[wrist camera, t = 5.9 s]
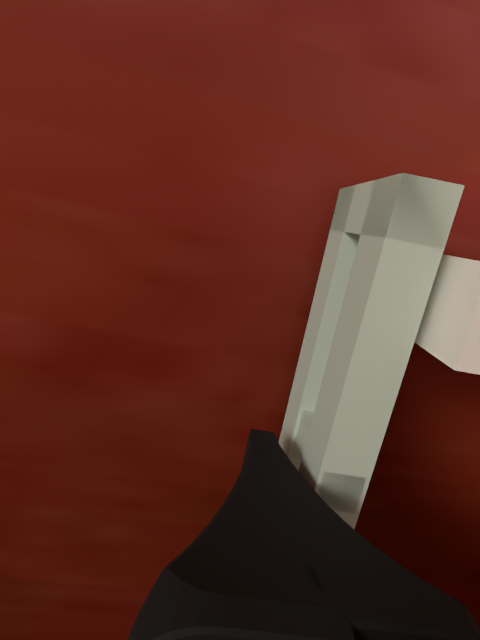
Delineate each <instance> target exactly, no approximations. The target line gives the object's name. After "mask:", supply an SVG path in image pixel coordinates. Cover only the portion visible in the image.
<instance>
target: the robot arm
mask: <svg viewBox="0 0 480 640" xmlns="http://www.w3.org/2000/svg"><path fill="white" fill-rule="evenodd" d="M128 640H480V629H479V627H478V625H477V624H476V622H475V621H474V619H473V617H472V616H471V614H470V612H469V611H468V609H467V608H466V606H465V605H464V604H462V603H461V602H459V601H457V600H455V599H454V598H452V597H450V596H449V595H447V594H445V593H444V592H442V591H440V590H439V589H437V588H435V587H434V586H432V585H430V584H429V583H427V582H425V581H424V580H422V579H420V578H419V577H417V576H416V575H414V574H413V573H411V572H410V571H408V570H407V569H405V568H404V567H402V566H401V565H400V564H398V563H397V562H395V561H394V560H392V559H391V558H390V557H388V556H387V555H386V554H384V553H383V552H381V551H380V550H379V549H377V548H376V547H375V546H374V545H372V544H371V543H370V542H369V541H367V540H366V539H365V538H364V537H363V536H361V535H360V534H359V533H358V532H356V531H355V530H354V529H353V528H352V527H351V526H350V525H348V524H347V523H346V522H345V521H344V520H343V519H342V518H341V517H340V516H339V515H338V514H337V513H336V512H335V511H334V510H333V509H332V508H331V507H329V506H328V505H327V503H326V502H325V501H324V500H323V499H322V498H321V497H320V496H319V495H318V494H317V493H316V491H315V490H314V489H313V488H312V487H311V486H310V485H309V484H308V482H307V481H306V480H305V479H304V477H303V476H302V475H301V474H300V472H299V471H298V470H297V469H296V467H295V466H294V465H293V463H292V462H291V461H290V459H289V458H288V456H287V455H286V454H285V452H284V451H283V449H282V448H281V446H280V445H279V442H278V440H277V437H276V436H275V434H274V433H273V432H267V431H260V430H254V429H251V430H250V433H249V438H248V443H247V447H246V452H245V457H244V462H243V466H242V471H241V473H240V475H239V477H238V479H237V481H236V484H235V485H234V487H233V489H232V491H231V493H230V494H229V496H228V497H227V499H226V501H225V502H224V504H223V505H222V507H221V508H220V510H219V511H218V512H217V514H216V515H215V516H214V518H213V519H212V520H211V522H210V523H209V524H208V525H207V527H206V528H205V529H204V530H203V531H202V532H201V533H200V534H199V535H198V537H197V538H196V539H195V540H194V541H193V542H192V543H191V544H190V545H189V546H188V547H187V548H186V549H185V550H184V551H183V552H182V553H181V554H180V555H178V556H177V557H176V558H175V559H174V560H173V561H172V562H170V563H169V564H168V565H167V566H166V567H165V568H164V569H163V571H162V573H161V574H160V576H159V578H158V579H157V581H156V583H155V585H154V586H153V588H152V590H151V592H150V593H149V595H148V597H147V599H146V601H145V602H144V604H143V606H142V608H141V610H140V612H139V614H138V616H137V619H136V621H135V623H134V625H133V628H132V630H131V632H130V635H129V638H128Z"/></svg>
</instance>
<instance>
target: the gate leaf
mask: <svg viewBox="0 0 480 640" xmlns="http://www.w3.org/2000/svg"><path fill="white" fill-rule="evenodd" d="M463 189H464V185H459V184H454V183H450V182H445V181H440V180H435V179H430V178H426V177H421V176H416V175H411V174H406V173H401V174H397V175H393V176H389V177H385V178H381V179H377V180H373V181H369V182H365V183H361V184H358V185H354V186H350V187H346V188H342V189H340V191H339V195H338V199H337V203H336V207H335V211H334V216H333V220H332V224H331V228H330V232H329V236H328V240H327V245H326V249H325V253H324V257H323V261H322V265H321V269H320V273H319V278H318V282H317V286H316V290H315V294H314V298H313V302H312V307H311V311H310V315H309V319H308V323H307V327H306V331H305V336H304V340H303V344H302V348H301V352H300V356H299V360H298V365H297V369H296V373H295V377H294V381H293V385H292V389H291V394H290V398H289V402H288V406H287V410H286V414H285V418H284V422H283V427H282V431H281V435H280V439H279V445H280V446H281V448H282V449H283V451H284V452H285V454H286V455H287V456H288V458H289V459H290V461H291V462H292V463H293V465H294V466H295V467H296V469H297V470H298V471H299V472H300V474H301V475H302V476H303V477H304V479H305V480H306V481H307V482H308V484H309V485H310V486H311V487H312V488H313V489H314V490H315V491H316V493H317V494H318V495H319V496H320V497H321V498H322V499H323V500H324V501H325V502H326V503H327V505H328V506H329V507H331V508H332V509H333V510H334V511H335V512H336V513H337V514H338V515H339V516H340V517H341V518H342V519H343V520H344V521H345V522H346V523H347V524H348V525H350V526H351V527H352V528H353V529H355V526H356V523H357V520H358V517H359V514H360V510H361V507H362V504H363V501H364V498H365V495H366V492H367V489H368V485H369V482H370V479H371V476H372V473H373V470H374V467H375V464H376V460H377V457H378V454H379V451H380V448H381V445H382V442H383V439H384V435H385V432H386V429H387V426H388V423H389V420H390V417H391V414H392V410H393V407H394V404H395V401H396V398H397V395H398V392H399V389H400V385H401V382H402V379H403V376H404V373H405V370H406V367H407V364H408V361H409V357H410V354H411V351H412V348H413V345H414V342H415V339H416V336H417V332H418V329H419V326H420V323H421V320H422V317H423V314H424V311H425V307H426V304H427V301H428V298H429V295H430V292H431V289H432V286H433V282H434V279H435V276H436V273H437V270H438V267H439V264H440V261H441V257H442V254H443V251H444V248H445V245H446V242H447V239H448V236H449V232H450V229H451V226H452V223H453V220H454V217H455V214H456V211H457V208H458V204H459V201H460V198H461V195H462V192H463Z"/></svg>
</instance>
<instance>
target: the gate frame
mask: <svg viewBox="0 0 480 640" xmlns="http://www.w3.org/2000/svg"><path fill="white" fill-rule="evenodd" d="M415 343H416V344H417V345H419V346H420V347H422V348H423V349H425V350H426V351H427V352H429V353H430V354H432V355H433V356H435V357H436V358H437V359H439V360H440V361H442V362H443V363H445V364H446V365H447V366H449V367H450V368H452V369H453V370H455V371H461V372H467V373H473V374H479V375H480V261H476V260H470V259H465V258H459V257H454V256H449V255H443V254H442V257H441V261H440V264H439V267H438V270H437V273H436V276H435V279H434V282H433V286H432V289H431V292H430V295H429V298H428V301H427V304H426V307H425V311H424V314H423V317H422V320H421V323H420V326H419V329H418V332H417V336H416V339H415Z"/></svg>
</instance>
